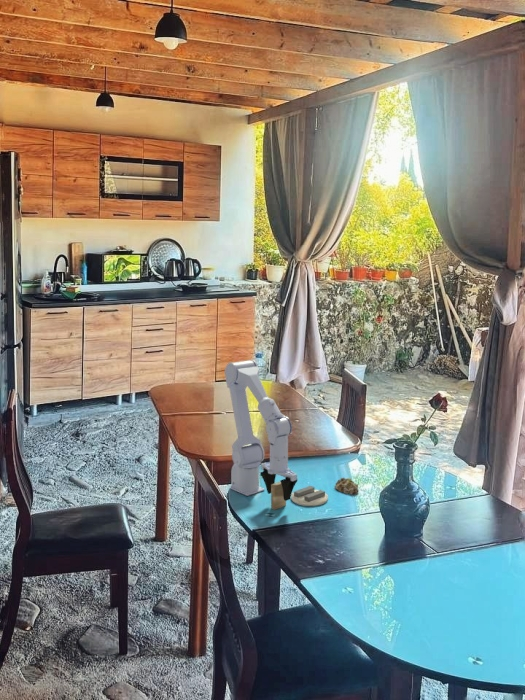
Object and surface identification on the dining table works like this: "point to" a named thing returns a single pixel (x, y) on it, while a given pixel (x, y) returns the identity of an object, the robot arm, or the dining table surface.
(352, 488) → the mineral rock
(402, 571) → the dining table surface
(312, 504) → the clip base
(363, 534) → the dining table surface
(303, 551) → the dining table surface
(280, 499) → the wooden block
